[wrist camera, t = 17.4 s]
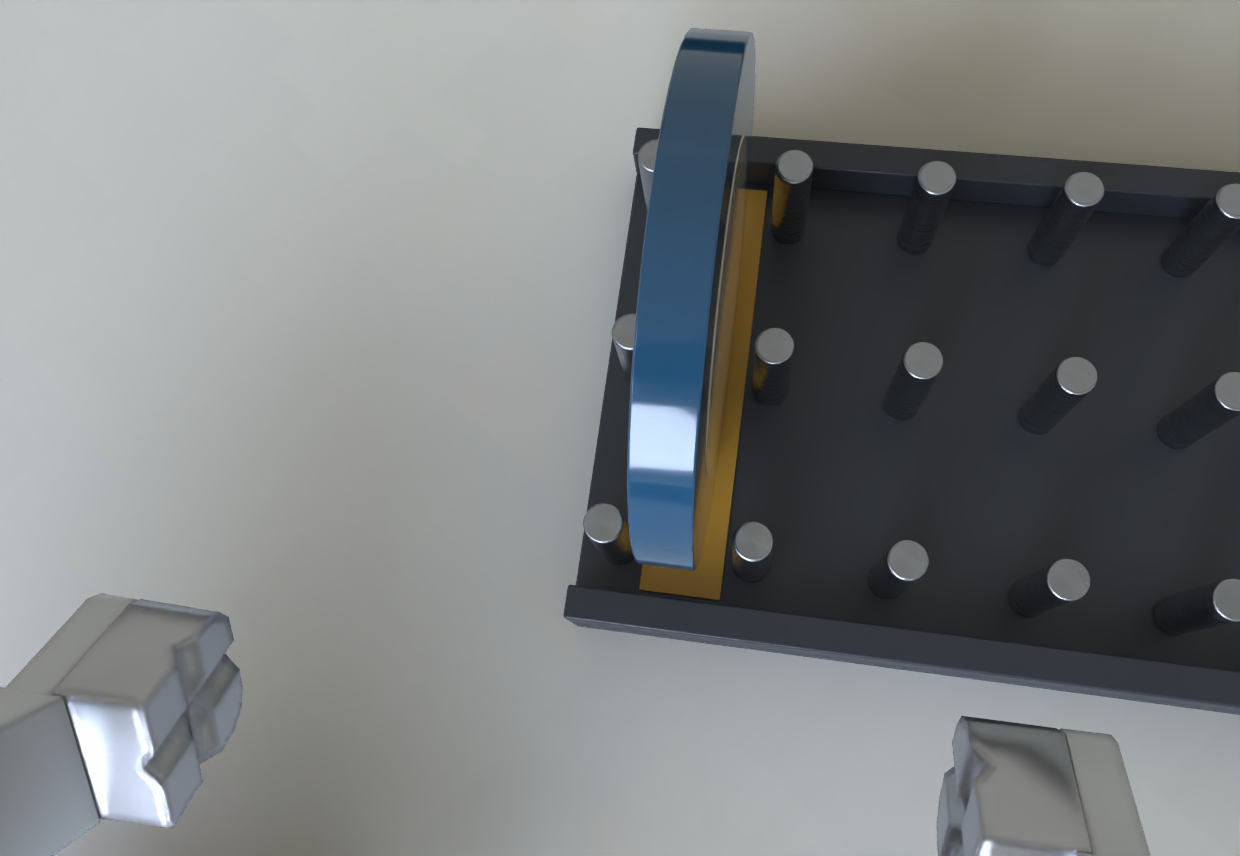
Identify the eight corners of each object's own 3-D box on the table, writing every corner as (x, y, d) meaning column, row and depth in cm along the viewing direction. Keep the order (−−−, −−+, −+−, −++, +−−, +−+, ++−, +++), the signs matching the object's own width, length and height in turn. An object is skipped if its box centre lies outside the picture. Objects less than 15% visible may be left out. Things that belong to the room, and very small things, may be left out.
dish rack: (1344, 729, 26) (1464, 729, 22) (575, 625, 29) (547, 607, 24) (1336, 221, 30) (1438, 134, 25) (642, 166, 32) (628, 78, 28)
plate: (702, 600, 28) (682, 519, 17) (652, 592, 28) (602, 510, 17) (752, 190, 30) (762, -99, 20) (706, 187, 30) (691, -103, 20)
